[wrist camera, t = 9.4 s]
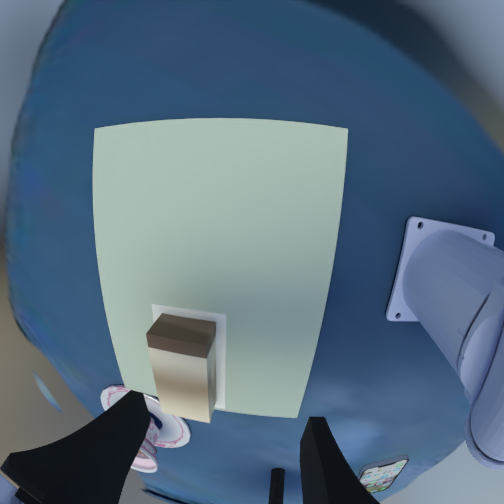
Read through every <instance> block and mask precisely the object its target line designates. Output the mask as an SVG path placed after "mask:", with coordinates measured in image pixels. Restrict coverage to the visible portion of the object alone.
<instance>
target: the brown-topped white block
mask: <svg viewBox="0 0 504 504" xmlns="http://www.w3.org/2000/svg"><path fill="white" fill-rule="evenodd" d="M146 337H147V344H148V349H149V355H150V360H151V366H152V371H153V375H154V380H155V385H156V389H157V394H158V398H159V402H160V406H161V410H162V412H163V413H166V414H170V415H174V416H178V417H183V418H187V419H192V420H196V421H201V422H206V423H210V421H211V418H212V414H213V411H214V407H215V404H216V400H217V391H216V322H214V321H207V320H200V319H194V318H187V317H181V316H175V315H170V314H164V313H161V315H160V316H159V317H158V319H157V320H156V321H155V322H154V324H153V325H152V326H151V328H150V329H149V330H148V332H147V333H146Z"/></svg>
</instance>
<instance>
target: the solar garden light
mask: <svg viewBox="0 0 504 504" xmlns="http://www.w3.org/2000/svg"><path fill="white" fill-rule="evenodd" d="M284 474H285V470H284V469H282V468H275V469H272V471H271V482H270V493H269V504H283V493H284Z"/></svg>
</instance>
